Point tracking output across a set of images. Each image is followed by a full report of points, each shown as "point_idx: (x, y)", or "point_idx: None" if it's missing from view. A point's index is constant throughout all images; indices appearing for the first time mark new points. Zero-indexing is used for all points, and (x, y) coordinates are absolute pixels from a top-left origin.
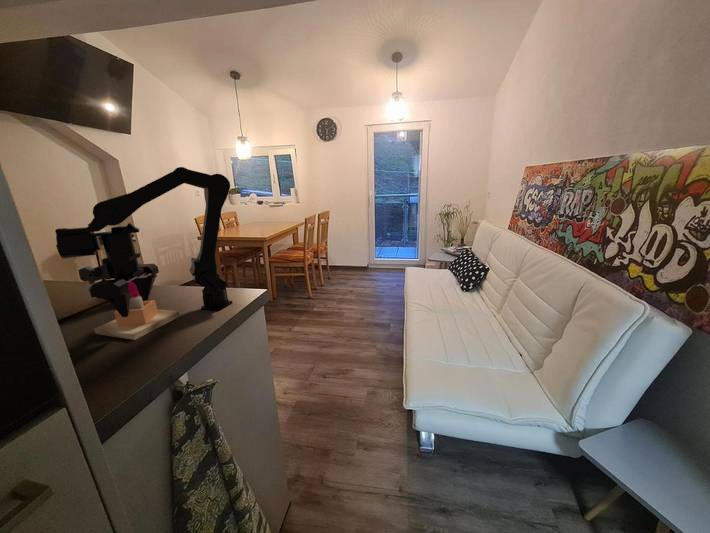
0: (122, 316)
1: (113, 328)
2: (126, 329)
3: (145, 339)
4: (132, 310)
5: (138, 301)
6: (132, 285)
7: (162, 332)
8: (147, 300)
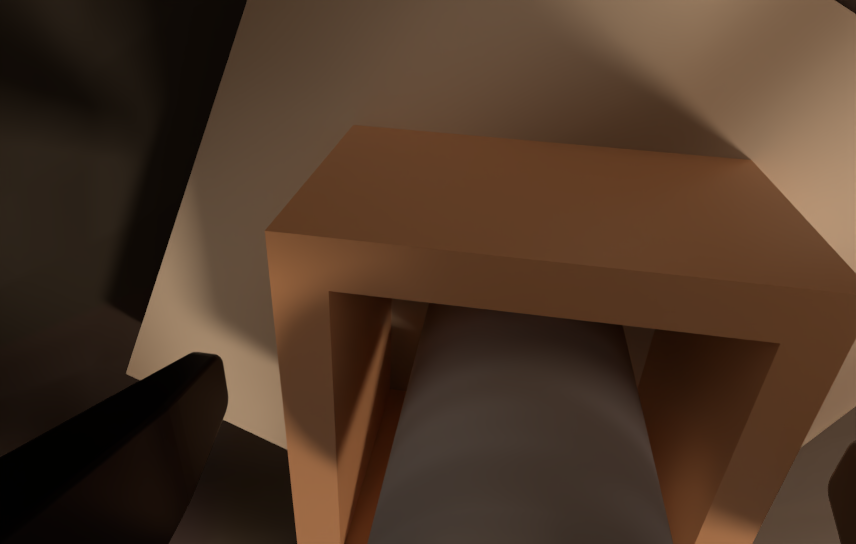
0: (189, 359)
1: (298, 86)
2: (243, 269)
3: None
4: (296, 483)
5: None
6: None
7: (277, 483)
8: (839, 529)
